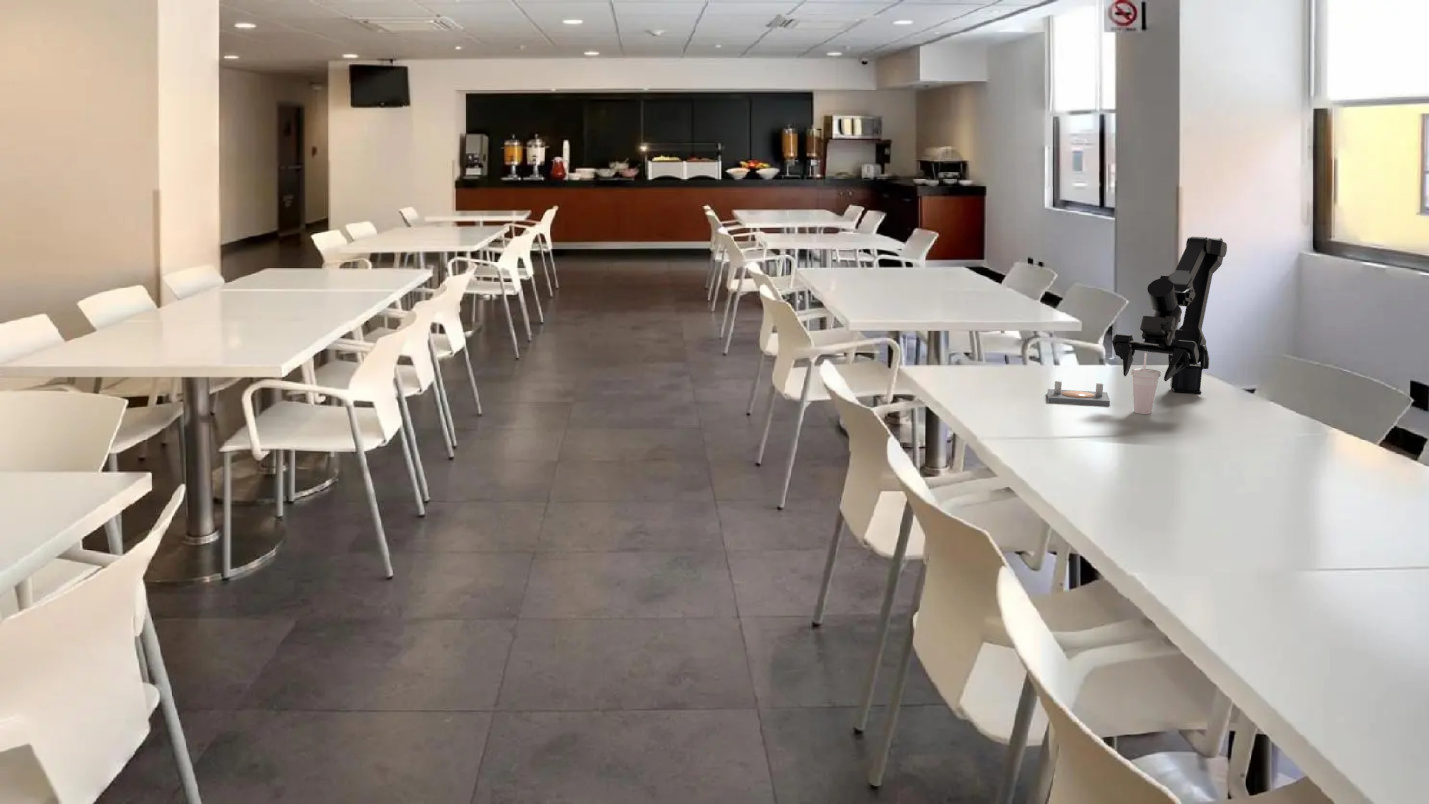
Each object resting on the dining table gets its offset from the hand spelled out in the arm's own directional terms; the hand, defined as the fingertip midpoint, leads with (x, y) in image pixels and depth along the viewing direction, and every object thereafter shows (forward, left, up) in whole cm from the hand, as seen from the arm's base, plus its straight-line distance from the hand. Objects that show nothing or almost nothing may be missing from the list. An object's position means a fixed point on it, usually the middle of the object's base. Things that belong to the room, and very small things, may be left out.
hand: (1144, 377), depth 279 cm
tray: (+14, -11, -8) cm, 20 cm away
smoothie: (0, -1, -8) cm, 8 cm away
